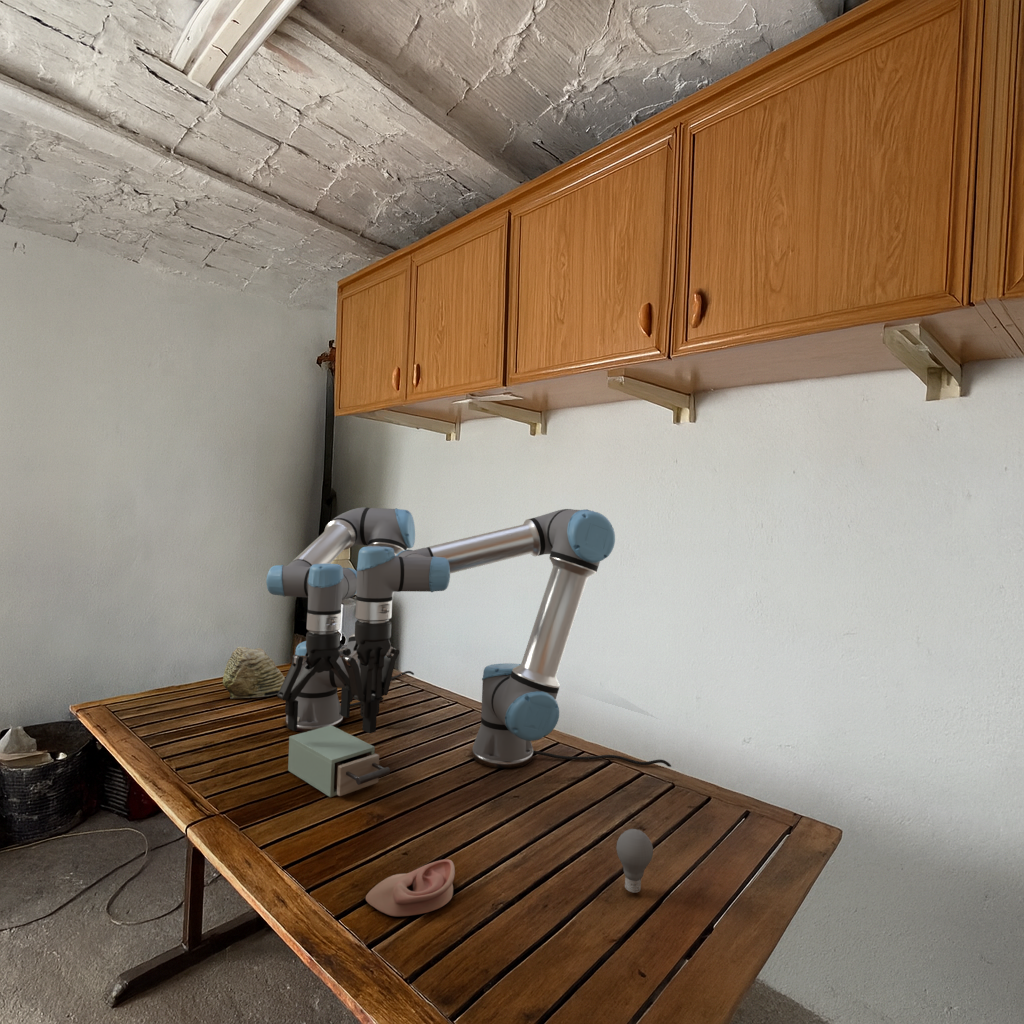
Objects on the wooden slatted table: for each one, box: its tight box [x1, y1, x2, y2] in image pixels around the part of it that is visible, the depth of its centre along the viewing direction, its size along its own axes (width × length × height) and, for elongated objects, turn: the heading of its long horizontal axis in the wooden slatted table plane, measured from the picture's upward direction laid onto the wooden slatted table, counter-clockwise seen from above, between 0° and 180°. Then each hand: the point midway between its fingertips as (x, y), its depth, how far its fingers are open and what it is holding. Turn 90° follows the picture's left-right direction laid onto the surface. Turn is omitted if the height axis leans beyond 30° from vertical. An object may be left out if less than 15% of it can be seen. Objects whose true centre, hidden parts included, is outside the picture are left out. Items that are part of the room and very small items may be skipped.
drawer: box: [334, 753, 391, 797], centre depth 140 cm, size 22×10×6 cm, turn 48°
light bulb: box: [615, 828, 654, 894], centre depth 106 cm, size 6×6×10 cm
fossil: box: [222, 646, 286, 699], centre depth 198 cm, size 9×18×15 cm, turn 132°
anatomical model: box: [365, 858, 456, 918], centre depth 102 cm, size 13×4×12 cm
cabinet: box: [287, 725, 376, 798], centre depth 144 cm, size 18×11×8 cm, turn 48°
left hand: (319, 722), depth 147 cm, fingers open, 13 cm apart
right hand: (369, 730), depth 134 cm, fingers closed
